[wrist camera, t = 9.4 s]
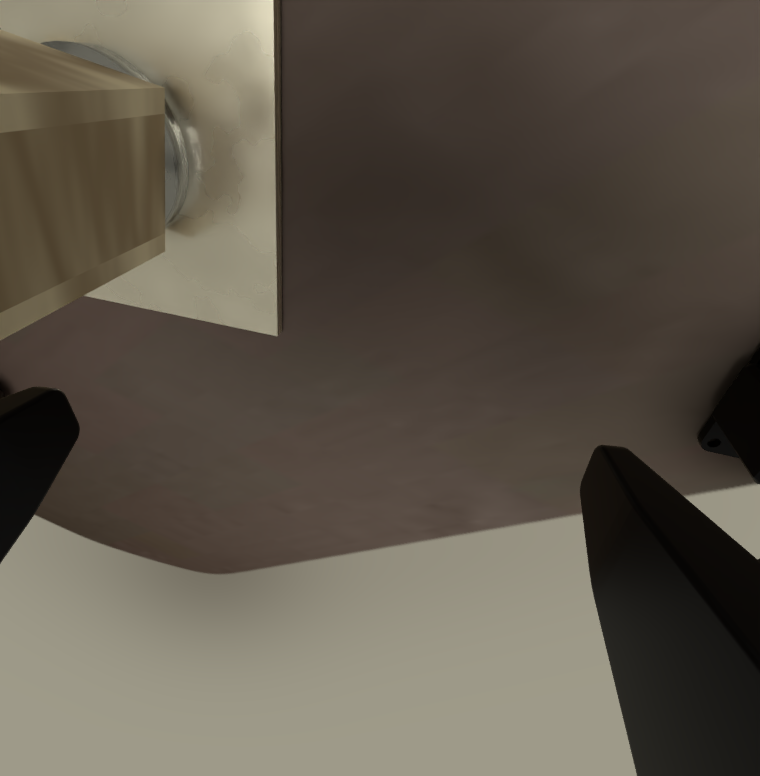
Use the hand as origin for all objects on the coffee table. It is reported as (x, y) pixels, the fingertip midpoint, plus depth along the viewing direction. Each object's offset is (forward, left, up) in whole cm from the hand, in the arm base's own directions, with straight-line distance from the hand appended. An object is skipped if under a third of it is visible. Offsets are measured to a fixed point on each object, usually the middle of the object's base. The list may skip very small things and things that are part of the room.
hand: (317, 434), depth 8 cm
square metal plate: (+13, -1, -13) cm, 18 cm away
